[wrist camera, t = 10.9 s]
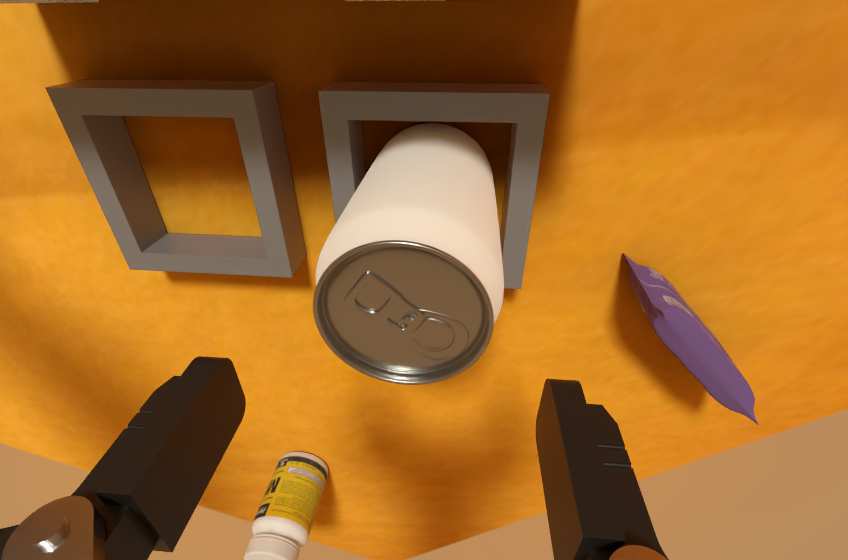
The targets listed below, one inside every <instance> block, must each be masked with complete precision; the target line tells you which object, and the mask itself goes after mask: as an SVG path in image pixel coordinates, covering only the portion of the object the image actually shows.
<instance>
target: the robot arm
mask: <svg viewBox="0 0 848 560" xmlns="http://www.w3.org/2000/svg"><path fill="white" fill-rule="evenodd" d="M245 404H246V402H245V396H244V393H243V390H242V387H241V385H240V382H239V379H238V376H237V374H236V371H235V368H234V365H233V363H232V361H231V360H230V359H228V358H217V357H197V358H195V359H194V360H193V361H192V362H191V363H190V364H189V366H188V367H187V368H186V370H185V371H184V372H183V374H182V375H181V376H174V377H172V378H171V379H170V380H168V381H167V382H166V383H164V384H163V385H162V386H160V387H159V388H158V389H156V390H155V391H154V392H153V393H152V395H151V396H150V397H149V398H148V400H147V401H146V402H145V404H144V405H143V406H142V407H141V409H140V412H139V413H137V414H136V415H135V416H134V418H133V419H132V420H131V421H130V423H129V424H128V428H127V429H124V430H123V432H122V433H121V434H120V435H119V437H118V438H117V439H116V440H115V442H114V443H113V444H112V445H111V447H110V448H109V449H108V451H107V452H106V453H105V454H104V456H103V457H102V458H101V459H100V461H99V462H98V463H97V465H96V466H95V467H94V468H93V470H92V471H91V472H90V474H89V475H88V476H87V477H86V479H85V480H84V481H83V483H82V484H81V485H80V486H79V487H78V488H77V490H76V491H75V492H74V493H73V494H72V495H71V496H67V497H64V498H60V499H57V500H54V501H52V502H50V503H48V504H46V505H44V506H42V507H41V508H39V509H37V510H36V511H35V512H33V513H32V514H31V515H29V516H28V517H27V518H26V519H25V520H24V521H23V522H22V523H21V524H20V525H16V526H11V527H7V528H3V529H0V560H147V559H148V557H149V555H150V554H151V552H152V550H154V551H165V552H173V550H174V548H175V546H176V544H177V542H178V540H179V539H180V537H181V535H182V533H183V531H184V529H185V527H186V525H187V523H188V521H189V520H190V518H191V516H192V514H193V512H194V510H195V508H196V506H197V504H198V503H199V501H200V499H201V497H202V495H203V493H204V491H205V489H206V487H207V486H208V484H209V482H210V480H211V478H212V476H213V474H214V472H215V470H216V468H217V467H218V465H219V463H220V461H221V459H222V457H223V455H224V453H225V451H226V450H227V448H228V446H229V444H230V442H231V440H232V438H233V436H234V434H235V432H236V431H237V429H238V427H239V425H240V423H241V421H242V419H243V416H244V412H245ZM536 443H537V450H538V456H539V463H540V469H541V476H542V482H543V489H544V495H545V502H546V509H547V515H548V521H549V528H550V535H551V541H552V548H553V554H554V560H669V559H668V558H667V556H666V555H665V554H664V552H663V550H662V548H661V547H660V544H659V542H658V540H657V537H656V535H655V531H654V529H653V526H652V523H651V520H650V517H649V514H648V511H647V508H646V505H645V502H644V500H643V497H642V494H641V491H640V488H639V485H638V482H637V479H636V476H635V474H634V471H633V469H632V468H631V462H630V459H629V456H628V453H627V450H625V445H624V442H623V439H622V436H621V433H620V430H619V427H618V424H617V423H616V422H615V421H614V419H613V418H612V417H611V416H610V414H609V413H608V412H607V411H606V409H605V408H604V407H603V406H602V405H596V404H586V400H585V397H584V393H583V390H582V387H581V384H580V382H579V381H575V380H558V379H546V381H545V384H544V388H543V393H542V397H541V401H540V406H539V410H538V414H537V419H536Z"/></svg>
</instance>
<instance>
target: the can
mask: <svg viewBox="0 0 848 560" xmlns="http://www.w3.org/2000/svg"><path fill="white" fill-rule="evenodd" d="M503 294H504V275H503V263H502V253H501V243H500V233H499V224H498V215H497V206H496V197H495V188H494V181H493V174H492V170H491V166H490V163H489V161H488V158H487V156H486V154H485V153H484V151H483V150H482V148H481V147H480V146H479V144H478V143H477V142H476V141H475V140H474V139H473V138H471V137H470V136H469V135H468V134H466V133H465V132H463V131H461V130H459V129H457V128H455V127H452V126H449V125H445V124H439V123H425V124H419V125H415V126H412V127H409V128H407V129H405V130H403V131H401V132H399V133H398V134H396V135H395V136H394V137H393V138H391V139H390V140H389V141H388V142H387V144H386V145H385V146H384V147H383V149H382V150H381V151H380V153H379V154H378V156H377V158H376V159H375V161H374V162H373V164H372V165H371V167H370V169H369V170H368V172H367V173H366V175H365V177H364V178H363V180H362V182H361V183H360V185H359V186H358V188H357V190H356V191H355V193H354V195H353V196H352V198H351V199H350V201H349V203H348V204H347V206H346V208H345V209H344V211H343V213H342V214H341V216H340V218H339V219H338V221H337V223H336V224H335V226H334V228H333V229H332V231H331V233H330V235H329V236H328V238H327V240H326V242H325V244H324V246H323V248H322V251H321V253H320V256H319V259H318V263H317V269H316V289H315V293H314V298H313V313H314V318H315V322H316V325H317V328H318V330H319V332H320V334H321V336H322V338H323V340H324V341H325V343H326V344H327V345H328V347H329V348H330V349H331V350H332V351H333V352H334V353H335V354H336V355H337V356H338V357H339V358H340V359H341V360H342V361H344V362H345V363H346V364H348V365H349V366H351V367H352V368H354V369H356V370H357V371H359V372H361V373H363V374H365V375H368V376H370V377H373V378H376V379H379V380H382V381H386V382H391V383H396V384H406V385H419V384H429V383H435V382H439V381H442V380H446V379H448V378H451V377H453V376H456V375H458V374H459V373H461V372H463V371H465V370H466V369H467V368H469V367H470V366H471V365H473V364H474V363H475V362H476V361H477V360H478V359H479V358H480V356H481V355H482V354H483V352H484V351H485V349H486V348H487V346H488V344H489V341H490V339H491V336H492V332H493V325H494V323H495V322H496V320H497V318H498V315H499V313H500V310H501V307H502V302H503Z"/></svg>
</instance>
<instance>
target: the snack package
mask: <svg viewBox="0 0 848 560" xmlns="http://www.w3.org/2000/svg"><path fill="white" fill-rule="evenodd" d="M623 255H624V257H625V258H626V260H627V262H628V264H629V266H630V271H631V273H630V284H631V286H632V289H633V291H634V293H635V295H636V297H637V299H638V301H639V302H640V304H641V306H642V308H643V310H644V312H645V314H646V316H647V317H648V319H649V321H650V323H651V325H652V327H653V329H654V330H655V332H656V334H657V335H658V337H659V338H660V340H661V341H662V342H663V343H664V345H665V346H666V347H667V348H668V349H669V350H670V351H671V352H672V353H673V354H674V355H675V356H676V357H677V358H678V359H679V360H680V361H681V363H682V364H683V365H684V366H685V367H686V368H687V369H688V371H689V372H690V373H691V374H692V375H693V376H694V377H695V378H696V379H697V380H698V381H699V382H700V383H701V384H702V386H703V387H704V388H705V389H706V390H707V392H708V393H709V394H710V395H711V396H712V397H713V398H714V399H715V400H716V401H718V402H719V403H720V404H722V405H723V406H724V407H726V408H728V409H730V410H732V411H735V412H738V413H741V414H743V415H745V416H747V417H748V418H750V419H751V420H753V421H754V422H755V423H756V424H758V423H757V421H756V419H755V416H754V412H753V408H754V402H755V398H754V394H753V392H752V390H751V388H750V386H749V384H748V383H747V381H746V380H745V378H744V377H743V376H742V374H741V373H740V371H739V370H738V368H737V367H736V365H735V364H734V363H733V361H732V360H731V358H730V357H729V355H728V354H727V353H726V351H725V350H724V348H723V347H722V346H721V344H720V343H719V341H718V340H717V338H716V337H715V336H714V335H713V334H712V332H711V331H710V330H709V329H708V328H707V327H706V326H705V325H704V323H703V322H702V321H701V320H700V318H699V317H698V316H697V315H696V313H695V312H694V311H693V310H692V309H691V307H690V306H689V305H688V304H687V303H686V302H685V301H684V299H683V298H682V297H681V296H680V294H679V293H678V292H677V291H676V289H675V288H674V287H673V285H672V284H671V283H670V282H669V281H668V280H667V279H665V278H664V277H663V276H662V275H661V274H659V273H658V272H657V271H655V270H653V269H652V268H649V267H645V266H640V265H638V264H636V263H635V262H633V261H632V260H631V259H629V258H628V257H627V256H626V255H625V254H624V253H623ZM758 425H759V424H758Z"/></svg>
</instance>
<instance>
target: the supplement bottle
mask: <svg viewBox="0 0 848 560" xmlns="http://www.w3.org/2000/svg"><path fill="white" fill-rule="evenodd" d="M327 477H328V467H327V465H326V464H325V462H324V461H323V460H321V459H320V458H319V457H317V456H315V455H312V454H309V453H305V452H289V453H287V454H285V455H283V456H282V457H281V458H280V460H279V462H278V465H277V467H276V469H275V472H274V474H273V477H272V479H271V481H270V484H269V486H268V488H267V491H266V493H265V495H264V498H263V500H262V503H261V505H260V507H259V510H258V512H257V515H256V517H255V519H254V522H253V525H252V533H253V535H254V536H253V537H252V538H251V540H250V541H249V544H248V547H247V550H246V552H245V555H244V560H297V559H298V556H299V551H300V550H299V548H301V547H303V546H304V545H305V544H306V542H307V540H308V538H309V534H310V531H311V528H312V525H313V521H314V518H315V515H316V512H317V509H318V505H319V502H320V499H321V496H322V493H323V489H324V486H325V483H326V480H327Z"/></svg>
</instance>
